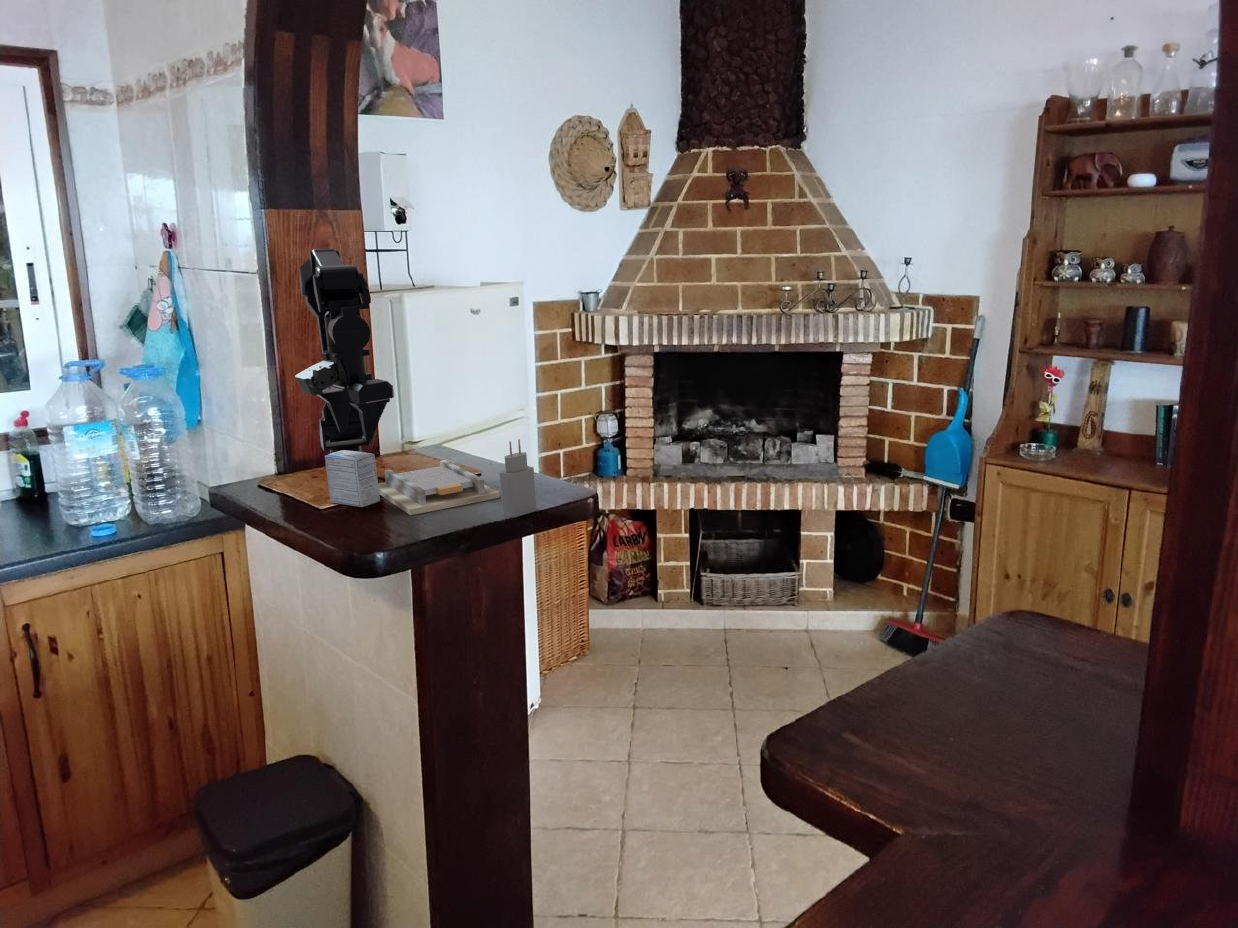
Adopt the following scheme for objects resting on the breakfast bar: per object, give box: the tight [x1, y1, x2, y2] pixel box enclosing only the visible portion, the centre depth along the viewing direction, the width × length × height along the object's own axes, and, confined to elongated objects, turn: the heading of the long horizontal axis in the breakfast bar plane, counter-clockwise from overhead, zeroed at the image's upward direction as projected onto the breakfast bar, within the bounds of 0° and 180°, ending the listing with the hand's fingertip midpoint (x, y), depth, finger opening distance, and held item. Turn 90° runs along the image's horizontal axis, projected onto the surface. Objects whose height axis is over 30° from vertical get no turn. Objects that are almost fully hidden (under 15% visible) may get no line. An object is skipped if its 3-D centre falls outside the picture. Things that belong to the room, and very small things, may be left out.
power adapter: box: [499, 438, 537, 518], centre depth 149 cm, size 3×5×12 cm, turn 136°
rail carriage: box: [397, 465, 473, 495], centre depth 162 cm, size 16×9×1 cm, turn 32°
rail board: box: [378, 459, 501, 516], centre depth 163 cm, size 20×16×4 cm
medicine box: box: [324, 450, 381, 508], centre depth 159 cm, size 8×4×9 cm, turn 58°
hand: (355, 435), depth 157 cm, fingers open, 9 cm apart
